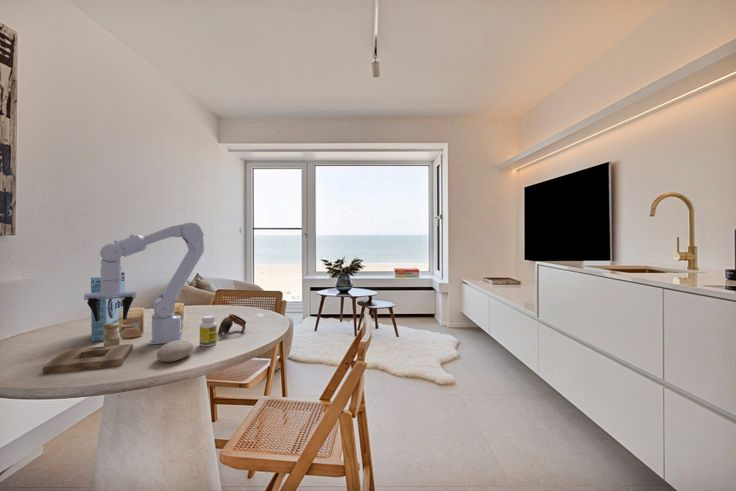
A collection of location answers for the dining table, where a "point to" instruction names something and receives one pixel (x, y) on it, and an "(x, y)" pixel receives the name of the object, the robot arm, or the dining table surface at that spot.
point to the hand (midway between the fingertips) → (111, 320)
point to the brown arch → (228, 323)
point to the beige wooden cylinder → (111, 334)
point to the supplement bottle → (208, 331)
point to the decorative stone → (174, 350)
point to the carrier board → (88, 358)
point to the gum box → (105, 309)
